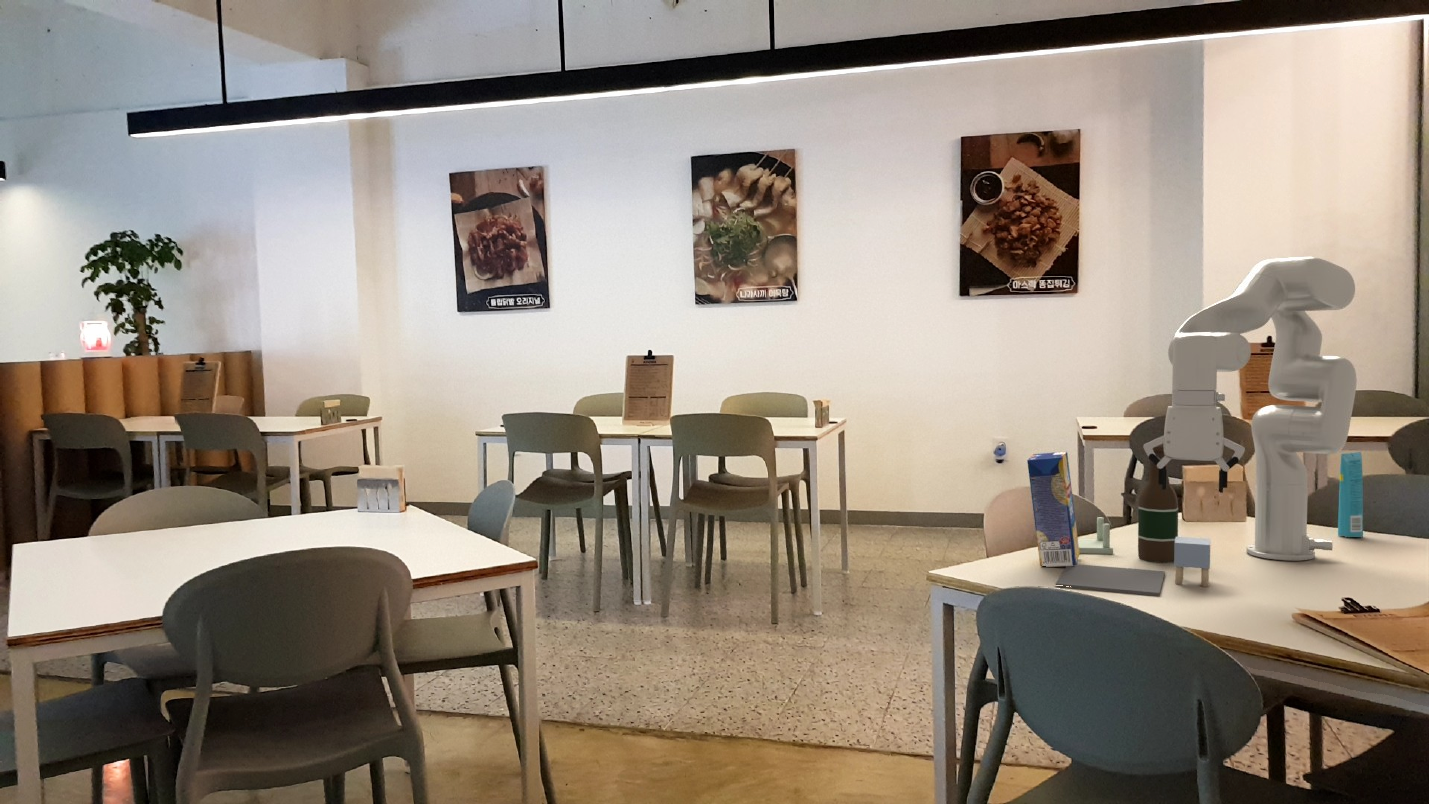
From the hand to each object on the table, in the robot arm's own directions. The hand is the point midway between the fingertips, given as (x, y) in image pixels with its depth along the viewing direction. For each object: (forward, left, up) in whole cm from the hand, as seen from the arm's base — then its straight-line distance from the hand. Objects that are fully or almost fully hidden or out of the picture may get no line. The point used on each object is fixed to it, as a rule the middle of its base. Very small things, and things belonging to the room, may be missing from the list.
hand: (1192, 490), depth 191 cm
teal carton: (-31, -59, -18) cm, 69 cm away
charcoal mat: (+14, +4, -18) cm, 23 cm away
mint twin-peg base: (+22, -24, -18) cm, 37 cm away
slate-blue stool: (0, 0, -18) cm, 18 cm away
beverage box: (+25, -8, -18) cm, 31 cm away
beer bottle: (+7, -19, -18) cm, 27 cm away
